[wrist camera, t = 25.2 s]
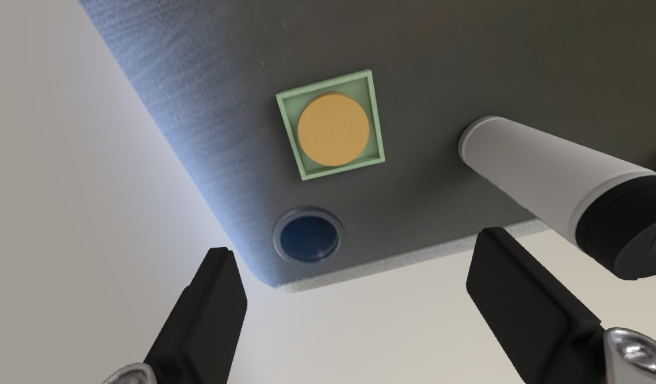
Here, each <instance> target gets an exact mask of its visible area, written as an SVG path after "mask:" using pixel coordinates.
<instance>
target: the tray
mask: <svg viewBox="0 0 656 384" xmlns="http://www.w3.org/2000/svg"><path fill="white" fill-rule="evenodd" d="M331 91H334V92H342V93H345V94H347V95H349V96H351V97H352V98H354V99H355V100H356V101H357V102H358V104H359V105H360V106H361V107H362V109H363V110H364V112H365V113H366V115H367V118H368V121H369V127H370V132H369V138H368V142H367V144H366V146H365V148H364V150H363V151H362V152H361V154H360V155H359V156H358V157H356V158H355V159H354V160H352V161H351V162H349V163H346V164H343V165H339V166H327V165H323V164H320V163H318V162H316V161H314V160H312V159H311V158H310V157H309V156H308V155H307V154H306V153H305V152H304V150H303V149H302V147H301V145H300V142H299V138H298V128H297V127H298V123H299V120H300V116H301V113H302V111H303V109H304V107H305V106H306V105H307V103H308V102H309V101H310V100H311V99H313V98H314V97H315V96H317V95H319V94H322V93H325V92H331ZM276 98H277V102H278V105H279V108H280V111H281V114H282V117H283V121H284V124H285V127H286V130H287V133H288V136H289V139H290V143H291V146H292V149H293V152H294V155H295V158H296V161H297V165H298V168H299V171H300V174H301V177H302V180H307V179H312V178H316V177H320V176H325V175H329V174H333V173H337V172H342V171H346V170H350V169H354V168H359V167H363V166H367V165H372V164H376V163H380V162H384V161H385V157H384V151H383V144H382V138H381V131H380V124H379V118H378V111H377V105H376V98H375V92H374V85H373V78H372V72H371V70H369V69H366V70H362V71H359V72H355V73H351V74H347V75H343V76H340V77H336V78H332V79H328V80H325V81H321V82H317V83H313V84H309V85H306V86H302V87H298V88H294V89H291V90H287V91H283V92H279V93H278V94H277V95H276Z"/></svg>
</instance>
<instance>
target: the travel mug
mask: <svg viewBox="0 0 656 384" xmlns="http://www.w3.org/2000/svg"><path fill="white" fill-rule="evenodd" d="M458 153H459V156H460V158H461V159H462V161H463V162H464V163H466V164H467V165H468V166H470V167H471V168H472V169H474V170H475V171H476V172H478V173H479V174H480V175H481V176H483V177H484V178H485V179H487V180H488V181H489V182H491V183H492V184H493V185H495V186H496V187H497V188H499V189H500V190H501V191H503V192H504V193H505V194H507V195H508V196H509V197H511V198H512V199H513V200H515V201H516V202H517V203H518V204H520V205H521V206H522V207H524V208H525V209H526V210H528V211H529V212H530V213H532V214H533V215H534V216H536V217H537V218H538V219H540V220H541V221H542V222H544V223H545V224H546V225H548V226H549V227H550V228H552V229H553V230H554V231H556V232H557V233H558V234H560V235H561V236H562V237H563V238H565V239H566V240H567V241H569V242H570V243H572V244H573V245H575V246H576V247H577V248H578V249H579V250H581V251H582V252H584V253H586V254H587V255H589V256H590V257H592V258H593V259H595V260H596V261H597V262H598V263H599V264H601V265H602V266H603V267H605V268H606V269H608V270H609V271H610V272H611V273H613V274H614V275H615V276H617V277H618V278H620V279H623V280H637V279H638V278H645V277H650V276H654V275H656V172H654V171H652V170H649V169H646V168H643V167H640V166H638V165H635V164H632V163H629V162H626V161H623V160H621V159H618V158H615V157H612V156H609V155H607V154H604V153H601V152H598V151H595V150H592V149H590V148H587V147H584V146H581V145H578V144H576V143H573V142H570V141H567V140H564V139H561V138H559V137H556V136H553V135H550V134H547V133H545V132H542V131H539V130H536V129H533V128H530V127H528V126H525V125H522V124H519V123H516V122H514V121H511V120H508V119H505V118H502V117H499V116H492V115H491V116H485V117H482V118H479V119H477V120H476V121H474V122H473V123H471V124H470V125H469V126H468V127H467V128H466V129H465V131H464V132H463V133H462V135H461V137H460V140H459V143H458Z"/></svg>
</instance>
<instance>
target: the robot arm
mask: <svg viewBox="0 0 656 384" xmlns="http://www.w3.org/2000/svg"><path fill="white" fill-rule="evenodd" d="M466 288H467V292H468V294H469V295H470V297H471V298H472V300H473V302H474V303H475V305H476V306H477V308H478V309H479V311H480V313H481V314H482V316H483V317H484V319H485V321H486V322H487V324H488V326H489V327H490V329H491V330H492V332H493V334H494V335H495V337H496V338H497V340H498V342H499V343H500V345H501V346H502V348H503V350H504V351H505V353H506V354H507V356H508V358H509V359H510V361H511V362H512V364H513V366H514V367H515V369H516V370H517V372H518V374H519V375H520V377H521V378H522V380H523V381H524V382H525V383H526V384H656V341H655V340H653V339H652V338H650V337H648V336H645V335H644V334H641V333H639V332H637V331H633V330H630V329H627V328H619V327H614V328H609V329H607V330H605V329H604V328H603V327H602V326H601V325H600V323H601V320H599V319H598V318H597V317H596V316H595V315H594V314H593V313H592V312H591V311H590V310H589V309H588V308H587V307H586V306H585V305H584V304H583V303H582V302H581V301H580V300H579V299H577V298H576V297H575V296H574V295H573V294H572V293H571V292H570V291H569V290H568V289H567V288H566V287H565V286H564V285H563V284H562V283H561V282H560V281H558V280H557V279H556V278H555V277H554V276H553V275H552V274H551V273H550V272H549V271H548V270H547V269H546V268H545V267H544V266H542V264H541V263H540V262H538V261H537V260H536V259H535V258H534V257H533V256H532V255H531V254H530V253H529V252H528V251H527V250H526V249H525V248H524V247H522V246H521V244H520V243H518V242H517V241H516V240H515V239H514V238H513V237H512V236H511V235H510V234H509V233H508V232H507V231H506V230H505V229H504V228H502V227H491V228H484V229H483V230H482V232H480V233H479V234H478V236H477V240H476V244H475V248H474V253H473V257H472V261H471V265H470V269H469V273H468V277H467V281H466ZM246 310H247V298H246V294H245V291H244V287H243V284H242V281H241V277H240V274H239V270H238V267H237V264H236V260H235V257H234V253H233V251H231V250H230V251H229V250H228V248H227V247H219V248H210V249H209V251H208V253H207V254H206V256H205V258H204V260H203V262H202V263H201V265H200V267H199V269H198V271H197V273H196V274H195V277H194V278H193V280H192V282H191V284H190V285H189V286H187V287H186V288H185V289H184V290H183V292H182V294H181V295H180V297H179V299H178V301H177V303H176V304H175V306H174V308H173V310H172V311H171V313H170V315H169V317H168V319H167V320H166V322H165V324H164V326H163V328H162V329H161V331H160V333H159V335H158V337H157V339H156V340H155V342H154V344H153V346H152V347H151V349H150V351H149V353H148V354H147V356H146V358H145V360H144V362H143V363H134V364H130V365H127V366H125V367H123V368H121V369H119V370H117V371H116V372H115V373H114V374H112V375H111V376H109V377H108V378H107V379H106V380H105V381H104V382H103V383H102V384H227V380H228V376H229V373H230V369H231V365H232V362H233V358H234V354H235V350H236V347H237V343H238V340H239V336H240V332H241V328H242V325H243V321H244V318H245V314H246Z"/></svg>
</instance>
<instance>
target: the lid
mask: <svg viewBox="0 0 656 384" xmlns="http://www.w3.org/2000/svg"><path fill="white" fill-rule="evenodd" d="M297 128H298V138H299V142H300V145H301V147H302V149H303V150H304V152H305V153H306V154H307V155H308V156H309V157H310V158H311V159H312V160H314V161H316V162H318V163H320V164H323V165H327V166H339V165H343V164H346V163H349V162H351V161H352V160H354V159H355V158H356V157H358V156H359V155H360V154H361V152H362V151H363V150H364V148H365V146H366V144H367V142H368V138H369V132H370V127H369V121H368V118H367V115H366V113H365V112H364V110H363V109H362V107H361V106H360V105H359V104H358V102H357V101H356V100H355V99H354V98H352V97H351V96H349V95H347V94H345V93H342V92H334V91H331V92H325V93H322V94H319V95H317V96H315V97H314V98H313V99H311V100H310V101H309V102H308V103H307V105H306V106H305V107H304V109H303V111H302V113H301V116H300V120H299V123H298V127H297Z"/></svg>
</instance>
